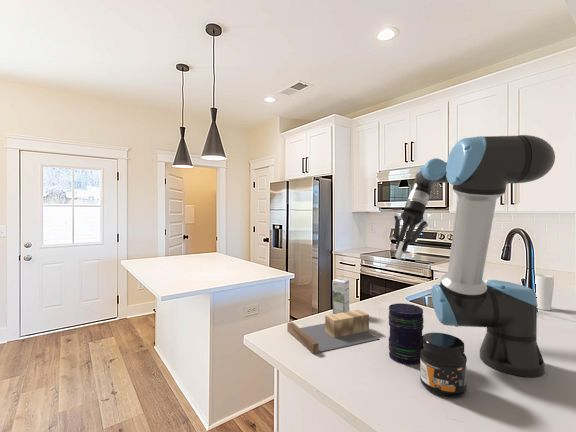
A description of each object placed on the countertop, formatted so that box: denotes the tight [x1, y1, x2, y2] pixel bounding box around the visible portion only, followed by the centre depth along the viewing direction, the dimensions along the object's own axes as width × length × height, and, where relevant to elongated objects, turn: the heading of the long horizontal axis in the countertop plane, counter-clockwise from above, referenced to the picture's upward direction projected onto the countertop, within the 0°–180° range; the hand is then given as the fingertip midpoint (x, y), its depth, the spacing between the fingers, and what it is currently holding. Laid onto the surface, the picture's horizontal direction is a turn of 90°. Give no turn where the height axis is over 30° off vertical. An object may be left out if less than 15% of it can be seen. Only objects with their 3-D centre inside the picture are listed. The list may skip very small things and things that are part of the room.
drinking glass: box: [534, 273, 555, 312], centre depth 135 cm, size 7×7×15 cm
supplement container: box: [419, 332, 468, 398], centre depth 77 cm, size 10×10×12 cm
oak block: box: [324, 309, 370, 338], centre depth 112 cm, size 6×6×15 cm
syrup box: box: [332, 277, 350, 314], centre depth 133 cm, size 6×6×14 cm
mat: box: [299, 323, 380, 354], centre depth 110 cm, size 24×20×1 cm
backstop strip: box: [286, 321, 319, 355], centre depth 104 cm, size 2×20×3 cm, turn 24°
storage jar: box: [388, 303, 425, 366], centre depth 92 cm, size 10×10×15 cm
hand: (397, 258), depth 118 cm, fingers closed
